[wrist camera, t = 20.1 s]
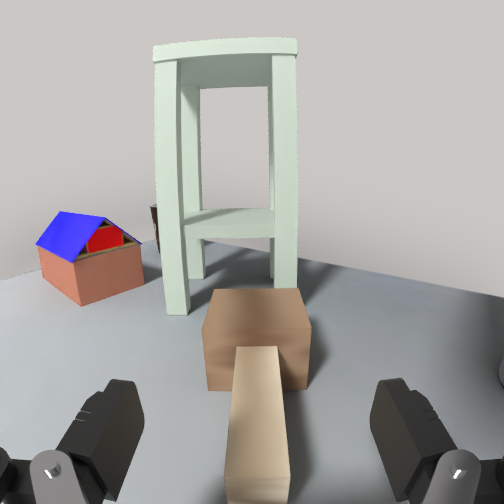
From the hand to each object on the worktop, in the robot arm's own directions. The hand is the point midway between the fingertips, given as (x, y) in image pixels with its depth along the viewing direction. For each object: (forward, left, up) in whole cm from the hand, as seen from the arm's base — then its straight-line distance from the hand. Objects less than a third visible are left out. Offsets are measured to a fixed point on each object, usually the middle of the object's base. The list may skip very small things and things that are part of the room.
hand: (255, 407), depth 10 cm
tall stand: (+15, -32, -10) cm, 36 cm away
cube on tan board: (+4, -10, -10) cm, 15 cm away
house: (+40, -27, -10) cm, 49 cm away
